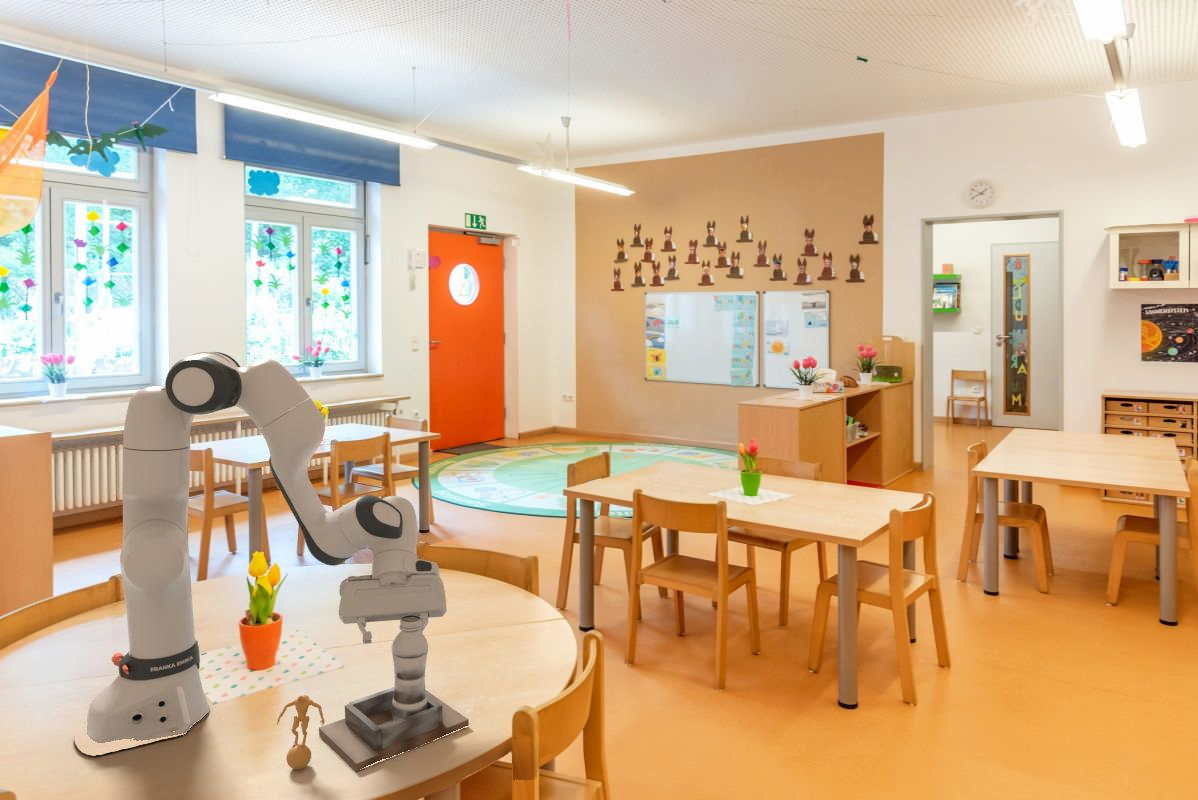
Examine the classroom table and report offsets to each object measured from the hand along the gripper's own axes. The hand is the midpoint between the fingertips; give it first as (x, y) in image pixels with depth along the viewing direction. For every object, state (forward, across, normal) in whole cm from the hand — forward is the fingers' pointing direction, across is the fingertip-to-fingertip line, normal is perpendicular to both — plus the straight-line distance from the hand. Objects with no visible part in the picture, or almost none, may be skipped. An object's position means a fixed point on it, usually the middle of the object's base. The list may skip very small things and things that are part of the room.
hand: (392, 640), depth 156 cm
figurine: (+20, -15, +2) cm, 25 cm away
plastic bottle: (+14, +3, +6) cm, 15 cm away
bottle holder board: (+14, 0, +7) cm, 16 cm away
